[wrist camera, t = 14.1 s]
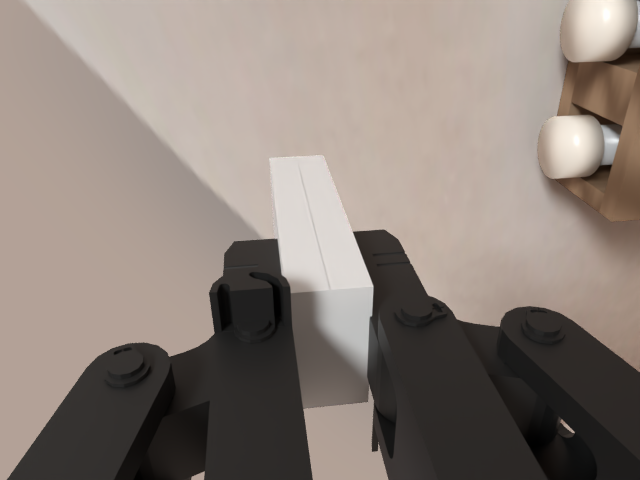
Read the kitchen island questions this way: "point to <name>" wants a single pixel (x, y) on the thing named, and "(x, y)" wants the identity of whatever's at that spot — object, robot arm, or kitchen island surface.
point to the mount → (608, 108)
